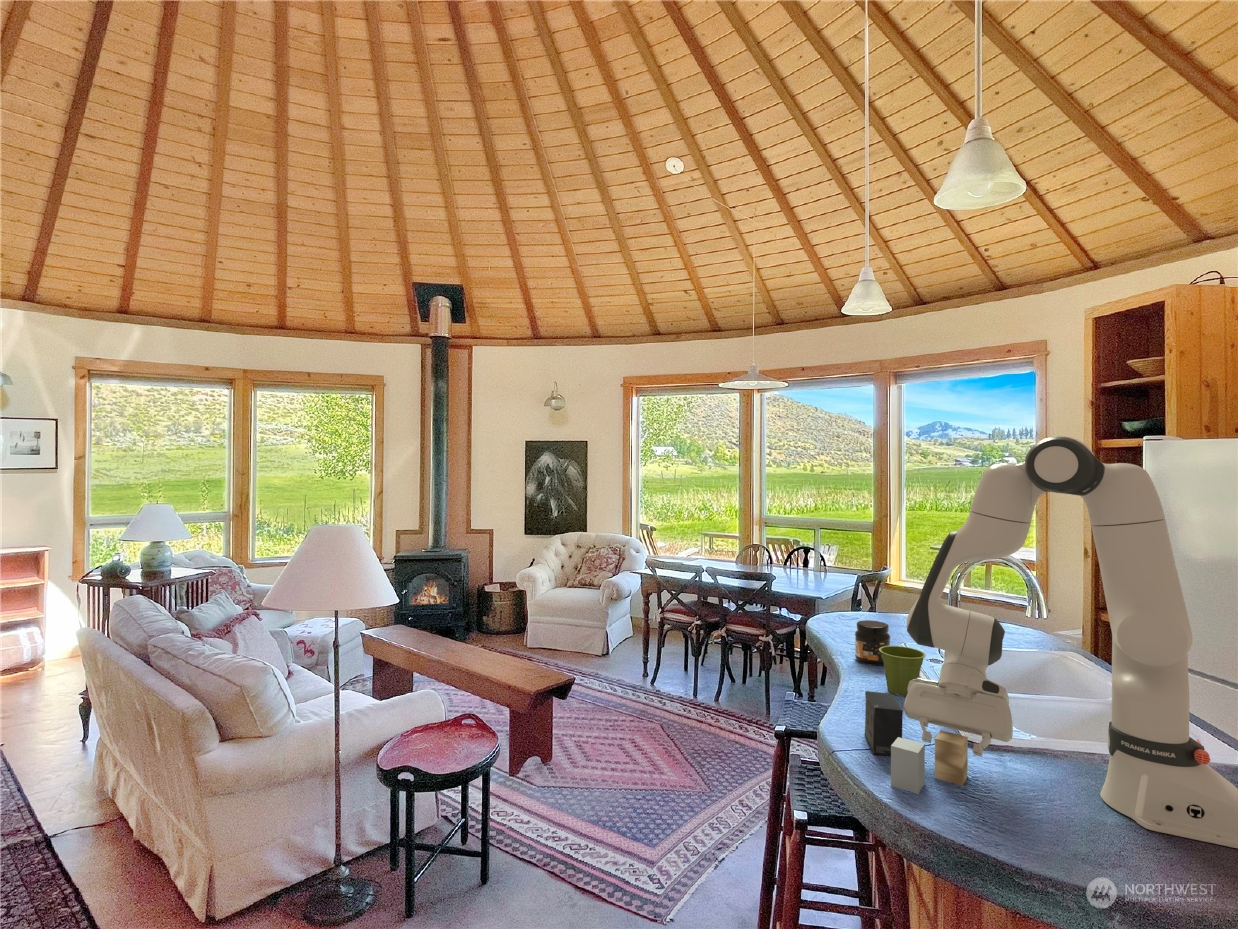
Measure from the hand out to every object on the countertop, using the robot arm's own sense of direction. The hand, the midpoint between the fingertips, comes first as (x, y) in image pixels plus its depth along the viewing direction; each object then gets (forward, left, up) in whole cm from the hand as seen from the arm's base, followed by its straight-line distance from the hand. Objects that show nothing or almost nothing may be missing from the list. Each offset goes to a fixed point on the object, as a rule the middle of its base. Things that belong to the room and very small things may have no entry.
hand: (951, 747), depth 130 cm
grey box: (+6, +10, -6) cm, 13 cm away
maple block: (0, +1, -6) cm, 6 cm away
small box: (+15, -5, -6) cm, 17 cm away
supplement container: (+36, -66, -6) cm, 76 cm away
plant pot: (+21, -43, -6) cm, 48 cm away
